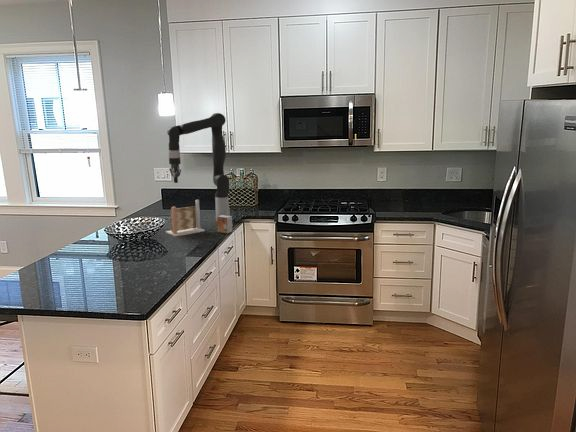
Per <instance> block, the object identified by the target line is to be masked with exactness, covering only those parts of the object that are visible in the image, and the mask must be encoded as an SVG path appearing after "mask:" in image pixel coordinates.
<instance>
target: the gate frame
mask: <svg viewBox="0 0 576 432" xmlns="http://www.w3.org/2000/svg"><path fill="white" fill-rule="evenodd" d="M194 201H195V209H196V228H191V229H186V230H180V231H177V219H176V209H177V207H176V206H171V208H170V209H172V228H173V232H172V229H170V230H165V233H166V234H169V235H171V236H174V237H181V236H185V235H191V234H197V233H202V232H206V230H205V229H204V228H201V213H200V199H195V200H194Z"/></svg>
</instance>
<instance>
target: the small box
mask: <svg viewBox="0 0 576 432" xmlns="http://www.w3.org/2000/svg"><path fill="white" fill-rule="evenodd" d="M216 224H217V225H216V227H217V233H222V234H229V233H232V232H233V216H232V215H230V216H225V215H220V216H217V221H216Z"/></svg>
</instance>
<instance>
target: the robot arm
mask: <svg viewBox="0 0 576 432" xmlns="http://www.w3.org/2000/svg"><path fill="white" fill-rule="evenodd" d="M225 123H226V117H225V115H224V114H223V113H221V112H220V113H219V112H215V113H213V114H211V116H209V117H208V118H203V119H199V120H198V119H197V120H193V121H189V122H185V123H183V124H180V125H179V124H178V125H174V126H171V127H169V128H168V129H167V131H166V133H167V135H168V139H169V140H168V164H169V165H170V167H169V172H170V175H171V177H173V183H174V184H176V183H177V184H178V183H179V179H178V178H179V177H180V175H181V172H182V169H180V165H181V163H182V162H181V150H180V136H182V135H189V134H192V133H196V132H199V131H201V130H205V129H209V128H211V147H212V149H211V150H212V151H211V152H212V163H213V172H212V174H213V175H212V182H213V184H214V185H215V186H216V192H215V194H214V200H215V221H216V222H217V216H220V215H225V216H231V208H230V205H229V194H230V179H229V177H228V176H227V175H226V174H225V172H224V166H225V165H224V164H225V161H226V158H227V157H226V156H227V155H226V154H227V151H226V143H225V139H224V135H223V126H224V125H225Z"/></svg>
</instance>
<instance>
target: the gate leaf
mask: <svg viewBox="0 0 576 432" xmlns="http://www.w3.org/2000/svg"><path fill="white" fill-rule="evenodd" d="M169 211H170V212H169V213H170V224H171V225H170V227H171V228H170V230H172V232H173V228H172V209H171V208H170V209H169ZM176 219H177V231H180V230H186V229H191V228H196V227H197V226H196V205H192V206H186V207H178V208H177V207H176Z"/></svg>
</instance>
